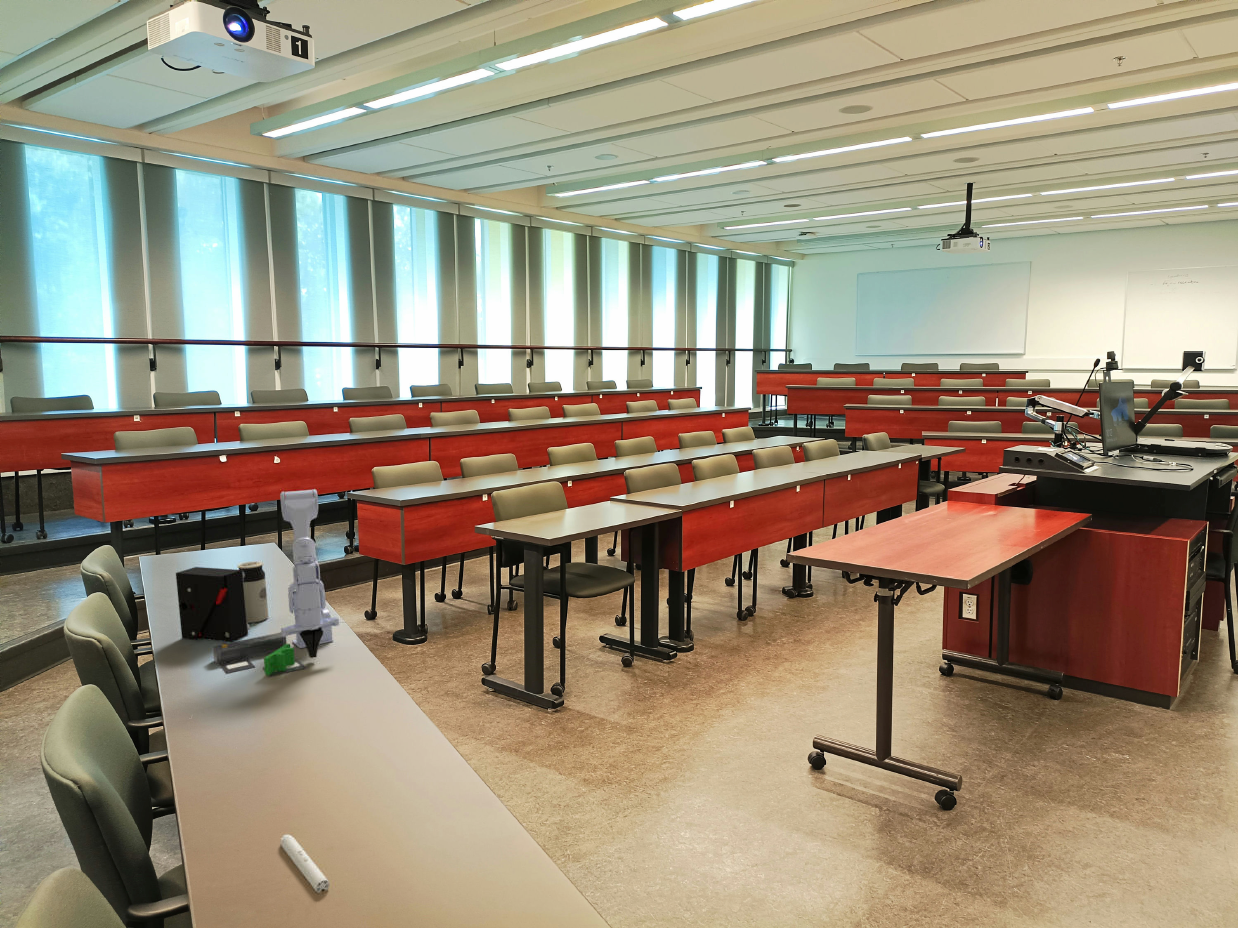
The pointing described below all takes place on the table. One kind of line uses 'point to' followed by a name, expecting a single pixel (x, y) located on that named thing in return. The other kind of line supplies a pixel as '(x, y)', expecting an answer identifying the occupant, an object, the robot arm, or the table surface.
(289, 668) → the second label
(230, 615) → the electrical component
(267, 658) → the pipe clamp
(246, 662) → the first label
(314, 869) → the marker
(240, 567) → the travel mug
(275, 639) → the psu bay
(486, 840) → the table surface
